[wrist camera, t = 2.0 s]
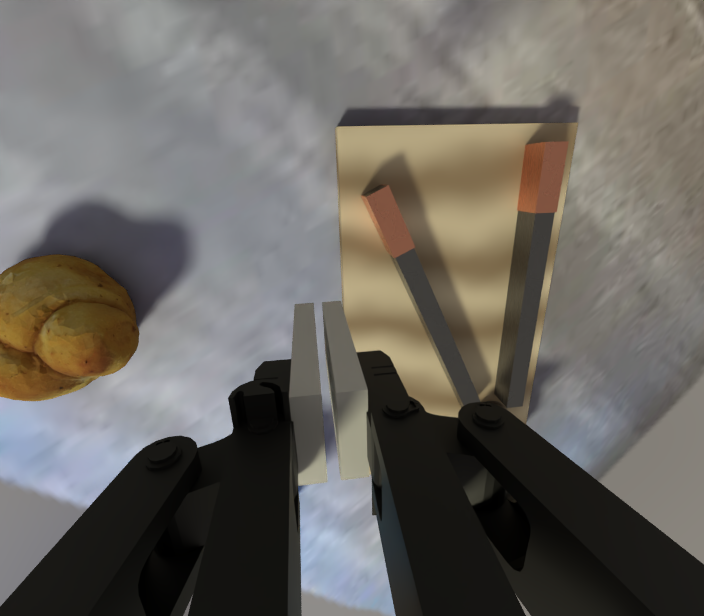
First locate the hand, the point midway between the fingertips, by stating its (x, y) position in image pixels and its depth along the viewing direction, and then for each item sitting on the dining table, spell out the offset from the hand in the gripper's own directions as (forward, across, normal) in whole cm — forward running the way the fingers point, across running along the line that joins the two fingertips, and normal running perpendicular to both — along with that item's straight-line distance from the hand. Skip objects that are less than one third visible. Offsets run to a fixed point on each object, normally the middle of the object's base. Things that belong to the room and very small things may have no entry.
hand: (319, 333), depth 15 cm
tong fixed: (+15, +17, -6) cm, 23 cm away
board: (+16, +12, -7) cm, 22 cm away
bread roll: (+17, -20, -4) cm, 27 cm away
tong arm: (+15, +10, -5) cm, 19 cm away
